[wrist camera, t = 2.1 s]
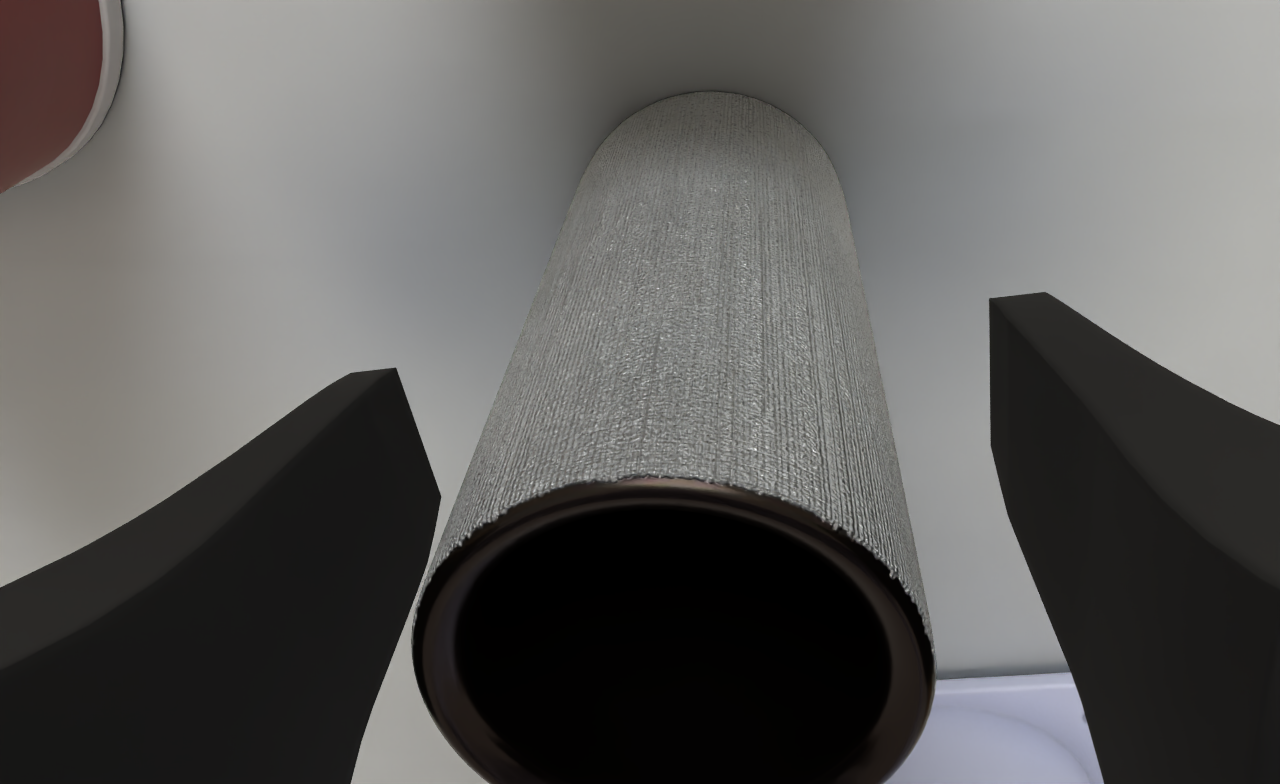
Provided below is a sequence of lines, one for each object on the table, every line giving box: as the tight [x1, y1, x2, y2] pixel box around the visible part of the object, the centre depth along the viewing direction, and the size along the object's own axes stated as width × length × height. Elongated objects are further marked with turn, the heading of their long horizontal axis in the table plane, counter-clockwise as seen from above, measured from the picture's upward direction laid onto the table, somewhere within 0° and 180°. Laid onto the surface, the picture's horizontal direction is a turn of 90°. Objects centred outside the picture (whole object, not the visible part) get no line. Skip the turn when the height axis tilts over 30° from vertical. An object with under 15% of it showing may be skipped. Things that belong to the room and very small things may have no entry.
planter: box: [411, 92, 937, 784], centre depth 13 cm, size 4×4×10 cm
